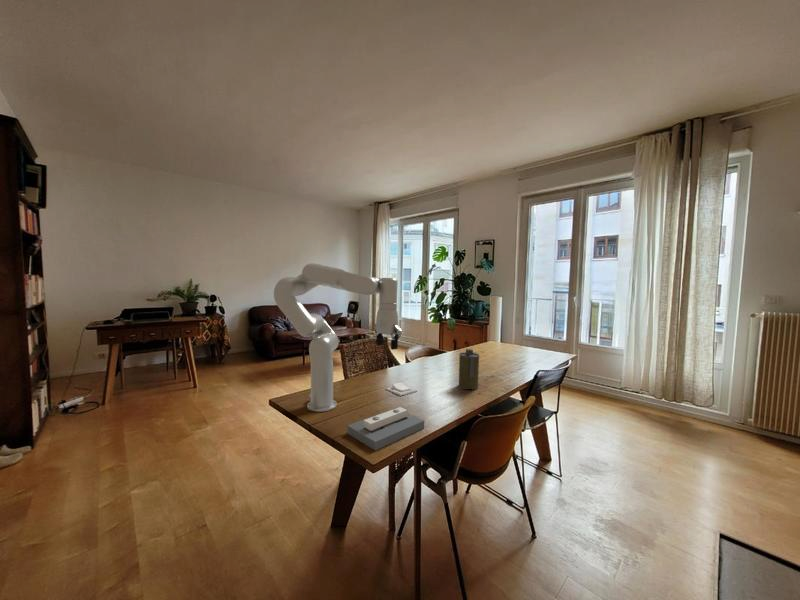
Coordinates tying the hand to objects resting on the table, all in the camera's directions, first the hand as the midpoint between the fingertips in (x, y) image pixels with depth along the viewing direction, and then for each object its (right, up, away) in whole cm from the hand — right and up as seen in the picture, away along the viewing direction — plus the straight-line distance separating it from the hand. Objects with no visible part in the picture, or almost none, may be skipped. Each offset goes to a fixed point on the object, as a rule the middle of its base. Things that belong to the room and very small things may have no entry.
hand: (386, 346), depth 138 cm
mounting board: (+1, -29, -17) cm, 34 cm away
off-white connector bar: (0, -29, -17) cm, 33 cm away
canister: (+42, -26, +33) cm, 60 cm away
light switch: (+6, -27, +26) cm, 38 cm away
